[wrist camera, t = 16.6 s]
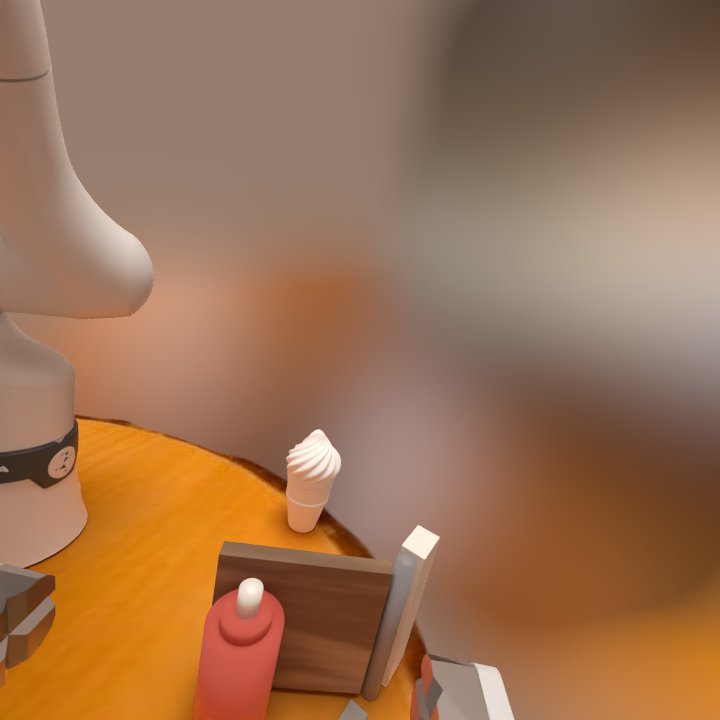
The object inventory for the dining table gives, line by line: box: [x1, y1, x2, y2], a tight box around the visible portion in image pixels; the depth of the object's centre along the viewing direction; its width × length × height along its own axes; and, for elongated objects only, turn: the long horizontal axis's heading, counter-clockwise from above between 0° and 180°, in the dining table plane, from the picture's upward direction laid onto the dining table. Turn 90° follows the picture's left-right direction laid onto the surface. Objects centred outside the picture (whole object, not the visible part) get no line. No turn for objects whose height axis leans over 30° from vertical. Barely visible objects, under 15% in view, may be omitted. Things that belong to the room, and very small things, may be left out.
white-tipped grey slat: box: [338, 525, 440, 720], centre depth 30 cm, size 2×22×16 cm, turn 147°
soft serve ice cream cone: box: [286, 430, 341, 533], centre depth 55 cm, size 8×8×16 cm
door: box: [212, 541, 393, 694], centre depth 34 cm, size 3×15×14 cm, turn 94°
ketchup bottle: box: [192, 578, 284, 720], centre depth 30 cm, size 6×6×15 cm
